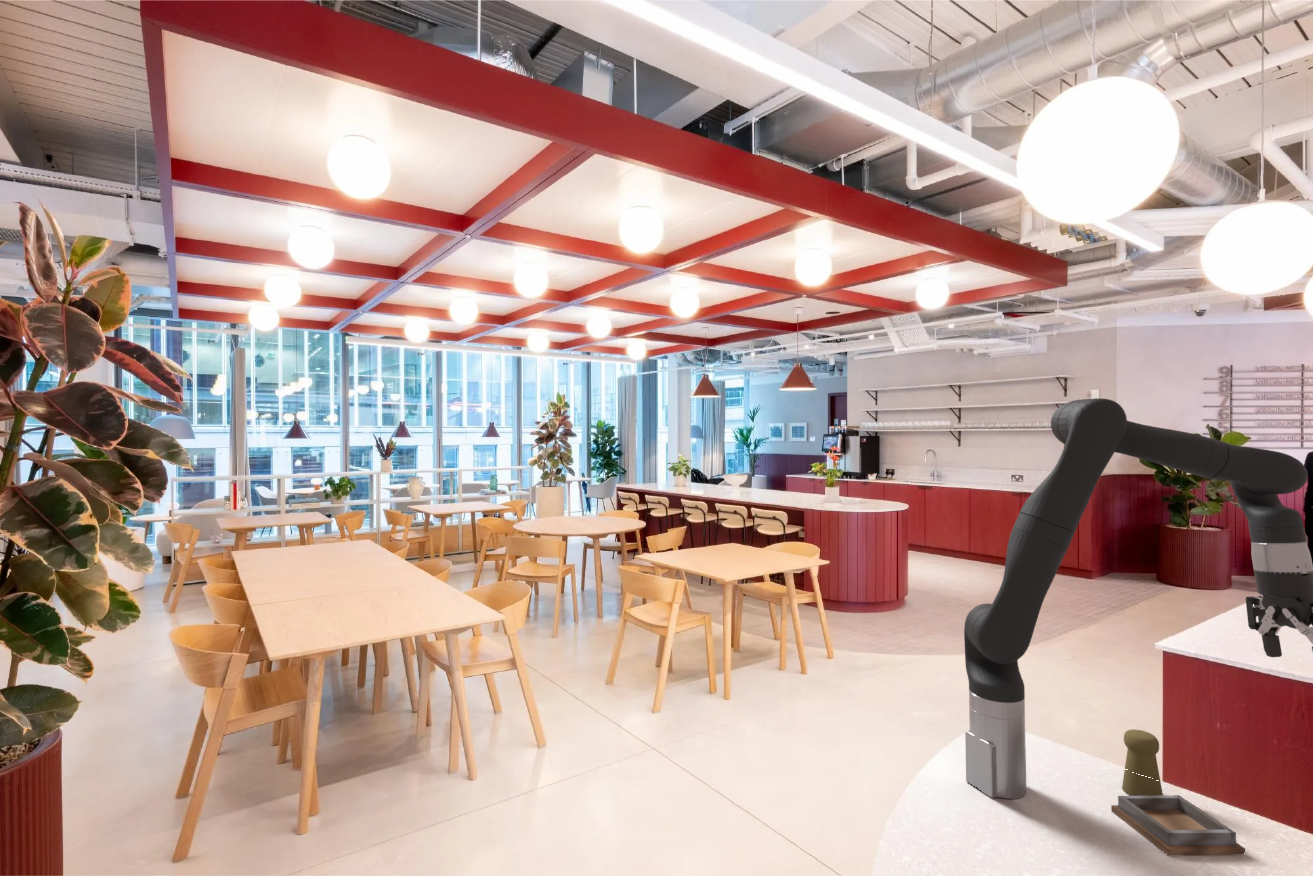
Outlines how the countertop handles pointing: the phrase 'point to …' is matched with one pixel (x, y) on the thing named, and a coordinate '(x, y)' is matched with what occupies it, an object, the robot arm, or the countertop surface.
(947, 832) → the countertop surface
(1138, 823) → the plate
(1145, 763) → the cork
